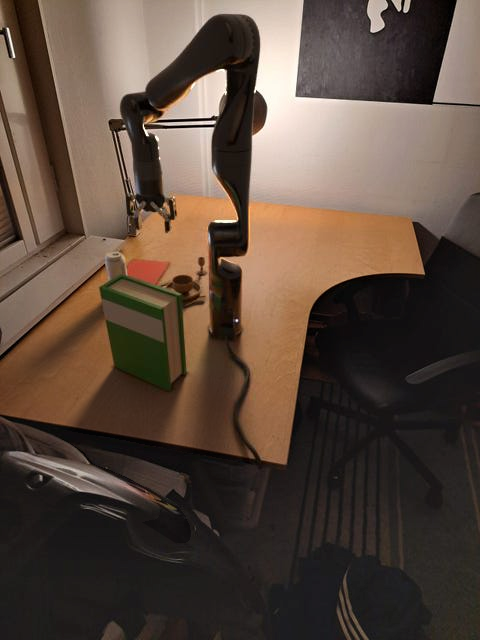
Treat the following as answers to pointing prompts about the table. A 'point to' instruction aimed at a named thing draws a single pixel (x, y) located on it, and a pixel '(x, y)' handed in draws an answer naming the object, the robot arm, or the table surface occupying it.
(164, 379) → the hardback book
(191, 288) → the place setting
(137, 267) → the cloth
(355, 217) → the table surface
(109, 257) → the energy drink can
